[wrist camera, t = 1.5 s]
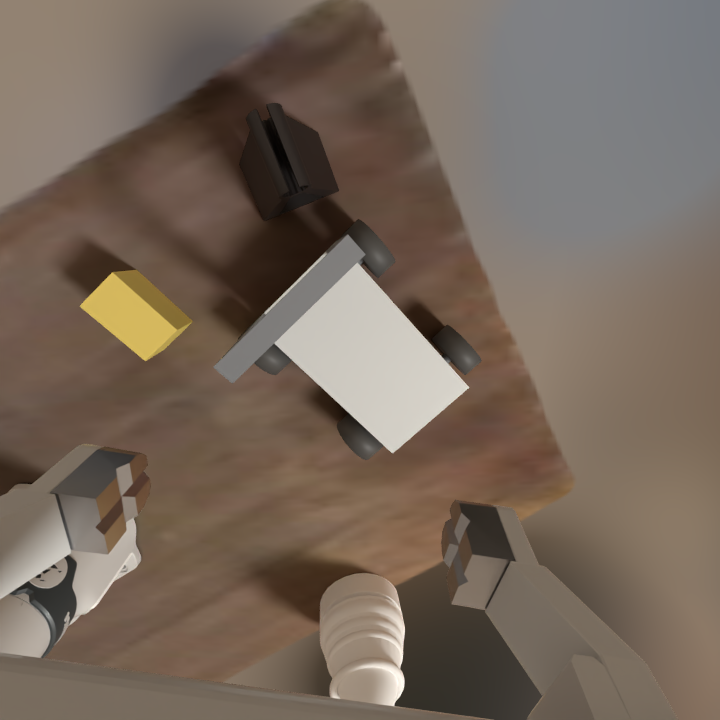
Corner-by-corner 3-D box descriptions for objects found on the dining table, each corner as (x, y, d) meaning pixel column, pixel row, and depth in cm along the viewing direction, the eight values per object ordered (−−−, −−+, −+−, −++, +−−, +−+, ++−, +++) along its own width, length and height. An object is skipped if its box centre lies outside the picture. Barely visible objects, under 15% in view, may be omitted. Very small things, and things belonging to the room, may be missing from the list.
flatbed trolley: (468, 353, 47) (575, 427, 27) (366, 443, 50) (396, 571, 30) (355, 221, 41) (387, 194, 21) (244, 331, 43) (179, 400, 24)
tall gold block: (164, 348, 43) (145, 361, 38) (107, 299, 41) (79, 306, 36) (193, 321, 42) (177, 330, 38) (136, 269, 40) (112, 272, 35)
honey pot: (337, 642, 60) (343, 798, 43) (307, 591, 56) (300, 740, 39) (408, 615, 60) (443, 761, 43) (383, 561, 56) (410, 698, 39)
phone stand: (264, 221, 40) (241, 209, 29) (239, 164, 38) (205, 128, 27) (339, 191, 40) (346, 168, 28) (318, 133, 38) (317, 83, 27)
